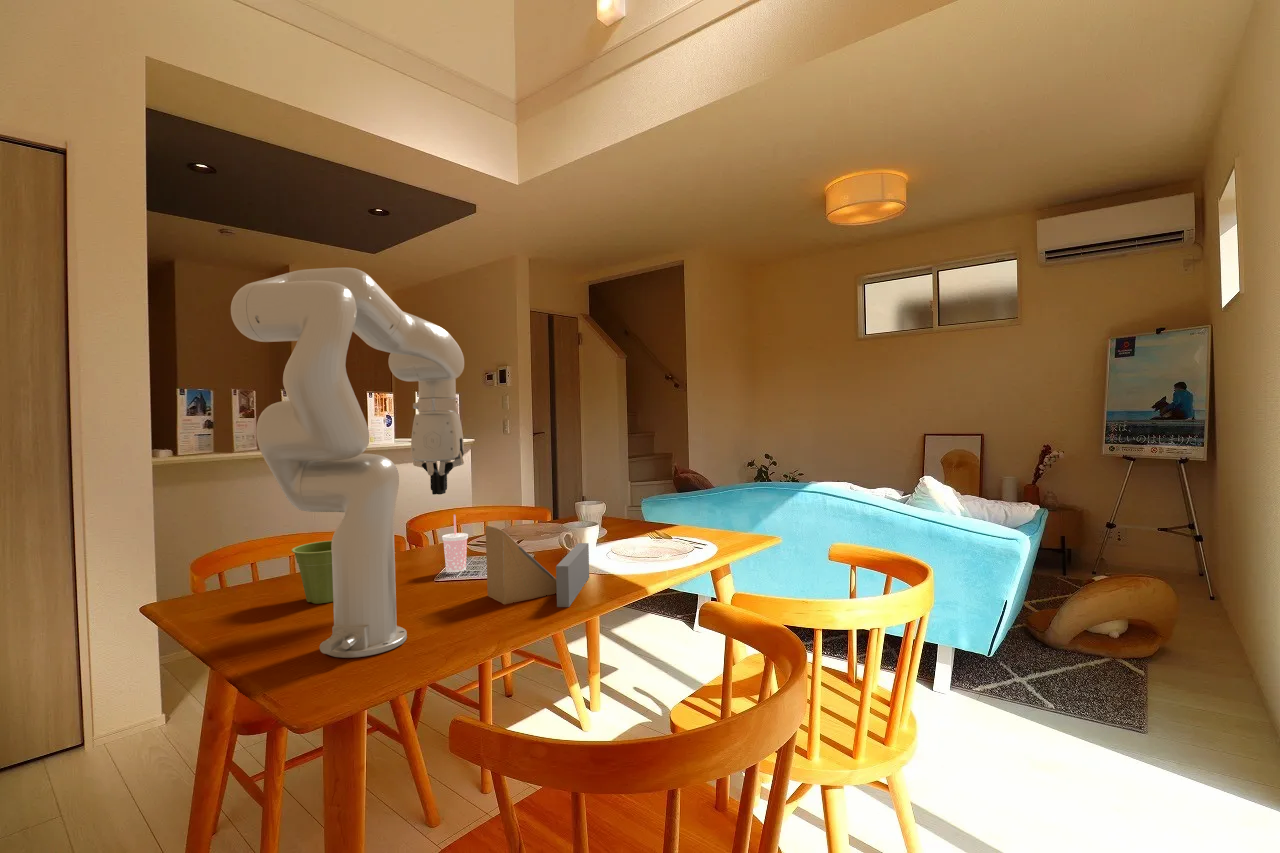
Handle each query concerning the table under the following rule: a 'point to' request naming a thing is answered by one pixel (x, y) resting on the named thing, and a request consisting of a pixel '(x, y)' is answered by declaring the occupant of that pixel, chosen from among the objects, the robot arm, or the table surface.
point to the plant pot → (316, 571)
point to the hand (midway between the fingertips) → (439, 493)
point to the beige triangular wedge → (514, 570)
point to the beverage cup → (455, 550)
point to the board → (572, 574)
